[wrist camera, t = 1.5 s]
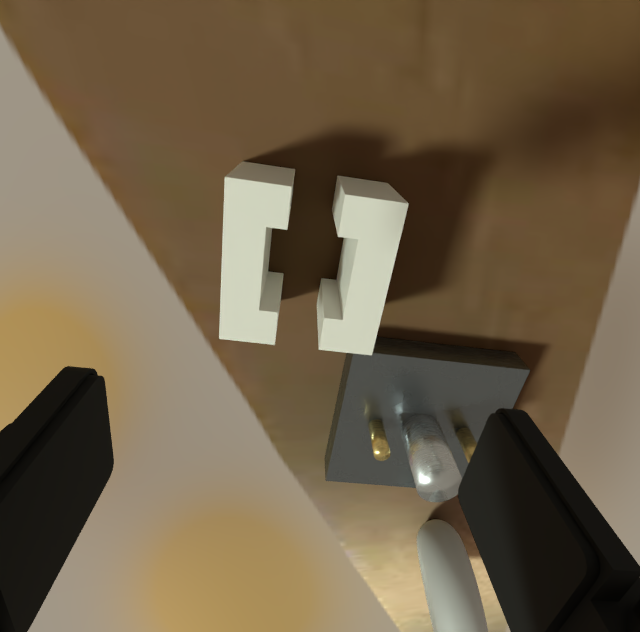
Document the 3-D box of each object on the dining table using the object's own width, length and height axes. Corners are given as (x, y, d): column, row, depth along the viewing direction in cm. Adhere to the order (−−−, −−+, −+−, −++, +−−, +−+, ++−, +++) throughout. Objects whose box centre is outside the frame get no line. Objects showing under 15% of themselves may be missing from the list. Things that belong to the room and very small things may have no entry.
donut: (406, 495, 33) (442, 640, 24) (448, 489, 32) (501, 633, 24) (416, 567, 37) (450, 711, 28) (454, 562, 37) (500, 705, 28)
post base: (350, 333, 26) (363, 400, 20) (515, 352, 26) (573, 421, 21) (324, 458, 31) (328, 541, 25) (463, 470, 32) (498, 552, 26)
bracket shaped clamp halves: (242, 161, 21) (224, 176, 16) (387, 183, 21) (408, 203, 17) (235, 295, 24) (219, 338, 20) (360, 310, 25) (371, 355, 20)
